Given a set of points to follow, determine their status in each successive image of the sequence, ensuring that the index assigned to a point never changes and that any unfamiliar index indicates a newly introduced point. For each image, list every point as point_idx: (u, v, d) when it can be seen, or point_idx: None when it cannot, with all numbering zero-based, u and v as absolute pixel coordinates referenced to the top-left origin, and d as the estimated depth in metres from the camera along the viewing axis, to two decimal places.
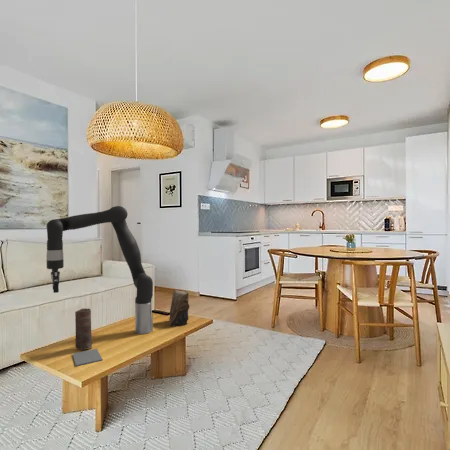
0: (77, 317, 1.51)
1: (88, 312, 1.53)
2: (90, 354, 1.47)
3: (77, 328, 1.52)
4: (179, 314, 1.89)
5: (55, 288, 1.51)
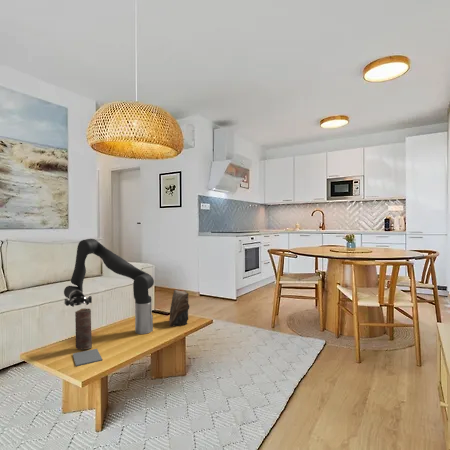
0: (77, 317, 1.51)
1: (88, 312, 1.53)
2: (90, 354, 1.47)
3: (77, 328, 1.52)
4: (179, 314, 1.89)
5: (70, 304, 1.64)
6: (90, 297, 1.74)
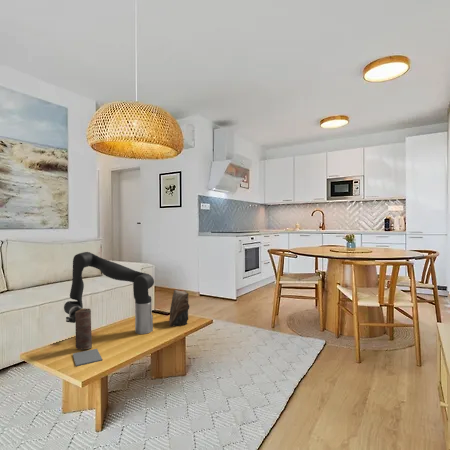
0: (77, 317, 1.51)
1: (88, 312, 1.53)
2: (90, 354, 1.47)
3: (77, 328, 1.52)
4: (179, 314, 1.89)
5: None
6: None
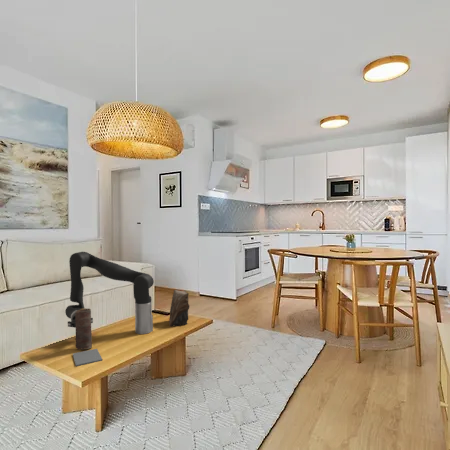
0: (77, 317, 1.51)
1: (88, 312, 1.53)
2: (90, 354, 1.47)
3: (77, 328, 1.52)
4: (179, 314, 1.89)
5: None
6: None
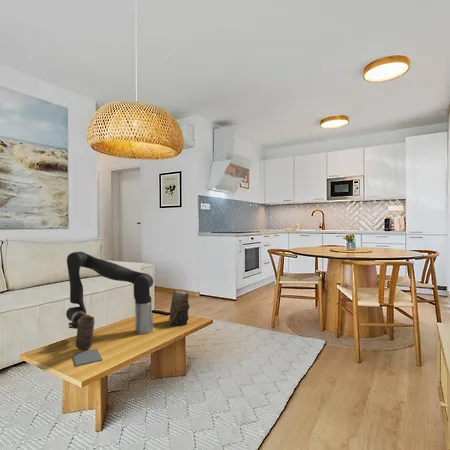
0: (79, 328, 1.43)
1: (91, 325, 1.44)
2: (90, 354, 1.47)
3: (79, 335, 1.46)
4: (179, 314, 1.89)
5: None
6: None
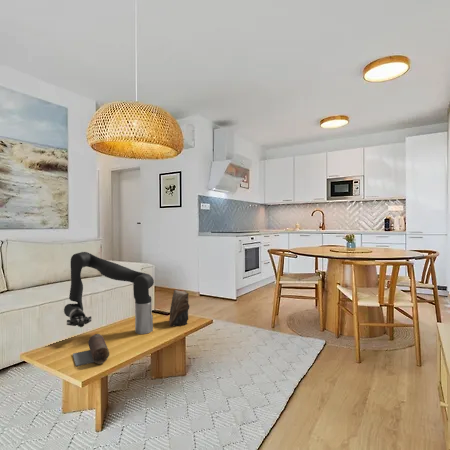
0: (94, 349, 1.39)
1: None
2: (90, 354, 1.47)
3: (93, 344, 1.43)
4: (179, 314, 1.89)
5: (78, 325, 1.62)
6: (87, 318, 1.68)
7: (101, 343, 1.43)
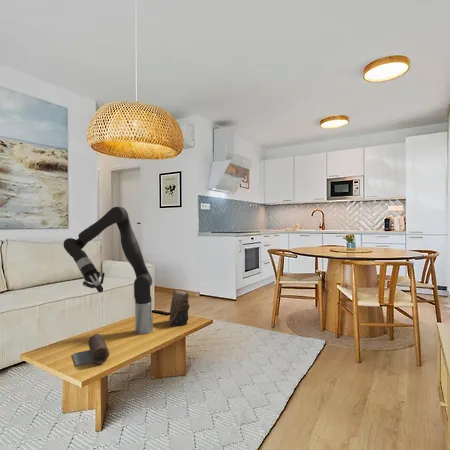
0: (94, 349, 1.39)
1: None
2: (90, 354, 1.47)
3: (93, 344, 1.43)
4: (179, 314, 1.89)
5: (97, 289, 1.68)
6: (102, 278, 1.71)
7: (101, 343, 1.43)
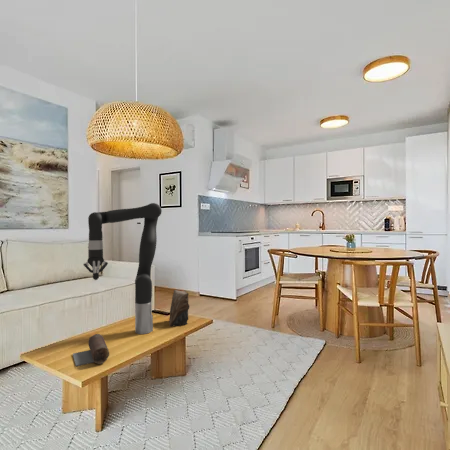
0: (94, 349, 1.39)
1: None
2: (90, 354, 1.47)
3: (93, 344, 1.43)
4: (179, 314, 1.89)
5: (93, 275, 1.69)
6: (103, 267, 1.71)
7: (101, 343, 1.43)
